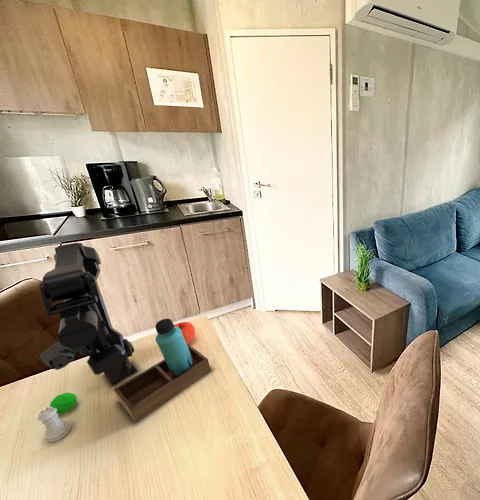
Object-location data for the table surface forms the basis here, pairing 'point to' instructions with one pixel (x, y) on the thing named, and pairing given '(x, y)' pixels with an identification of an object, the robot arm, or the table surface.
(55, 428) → the rook chess piece
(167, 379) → the divided wooden tray
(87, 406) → the table surface
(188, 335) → the apple
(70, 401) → the polyhedron
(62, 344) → the robot arm
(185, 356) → the beverage bottle
